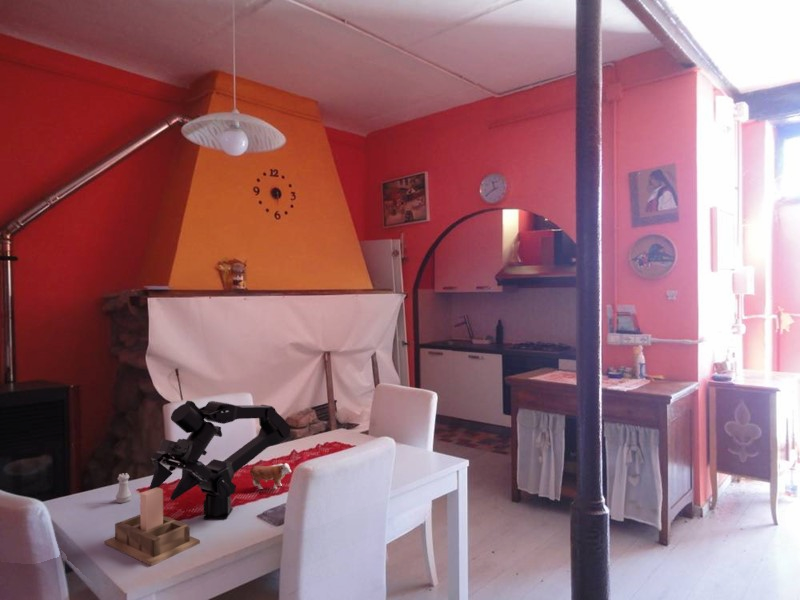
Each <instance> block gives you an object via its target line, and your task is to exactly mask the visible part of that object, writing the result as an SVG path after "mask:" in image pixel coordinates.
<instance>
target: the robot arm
mask: <svg viewBox="0 0 800 600" xmlns="http://www.w3.org/2000/svg"><path fill="white" fill-rule="evenodd" d="M244 419H246V420H247V419H248V420H249V419H258V421H259V422H258V423H259V426H260V429H259V432H258V434H257V435H256V436H255V437H254V438H252V439H251V440H250V441H249V442H246V443H245V444H244V445H243V446H242V447H240V448H239V449H237V450H236V451H235V452H234V453H232V454H231V455H229V456H228V457H227V458H225V460H219V459H215V458H214V459H212V460H211V461H210V462H208V463H207V464H204V463H203V462H202V461H199V459H200V457H202V456H206V455H207V453H208V451H207V450H206V449H207V447H208V446H209V444H210V443H211V441H213V438H214V437H219V438H222V436H223V432H222V427H221V426H218V425H215V424H213V423H217V424H223V425H224V424H228V423H232V422H234V421H235V420H236V421H237V420H244ZM170 420H171V421H172V422H173V424H175V425H176V426H178V428H180V429H181V430H182V431H183V432H185V433H186V434H189V435H188V436H187V438H179V439H177V441H174V440H170V439H167V438H162V439H161V441H160V445H159V447H158V450H157V451H155V452H154V453H153V455H152V456H151V458H150V459H151V460H152V464H153V465H154V466H153V467H154V472H153V476H152V478H151V482H150V486H149V488H148V490H150V489H153V488H156V487H158V488H160V487H161V486H162V485H163V483H164V482H165V481H166V480H168V478H170V476H172V474H173V472H174V471H175V470H176V469H180V470H181V478H180V480H179V481H178V483H177V485H176V487H175V488H174V490H173V491H172V493H171V496H170V497H169V499H170V500H171V501H175V500H176V499H178V498H179V497H180V496H183V495H184V494H186V492H188V491H190V490H191V489H193V488H195V487H196V486H197V487H199V489H200V491H201V493H202V494H205V498H204V500H203V515H204V516H203V519H204V520H226V519H228V517H229V516H230V515H231V513H232V512H233V511H234V510H233V507H232V495H234V494H235V492H236V489H237V484H235V483H234V482H233V479H234V476H235V474H236V473H237V472H238V471H240V470H242V468H243V467H245V466H246V465H248V464H249V463H250V462H251V461H252V460H254V459H255V458H257V456H258V455H260V454H261V453H263V451H265V450H266V449H268V448H269V447H272V446H276V445H279V444H281V443H283V442H285V441H287V439H288V438H289V437H290V435H291V427H290V425H289V423H287V422H286V420H285V418H284V417H282V416H281V415H280V414H279V413H278V412H277V410H276V408H274V406H272V405H267V404H261V405H259V404H258V405H253V404H252V405H247V404H246V405H241V404H239V405H236V404H231V403H228V402H221V401H214V400H210V401H208V402H207V404H206V405H205V406H201V407H198V406H197V405H196V403H195V402H194V401H192V400H186V402H185V403H183V404H181V405H179V406H178V407H177V408H175V409H174V410H173V411H172V413H171V416H170Z"/></svg>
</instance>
